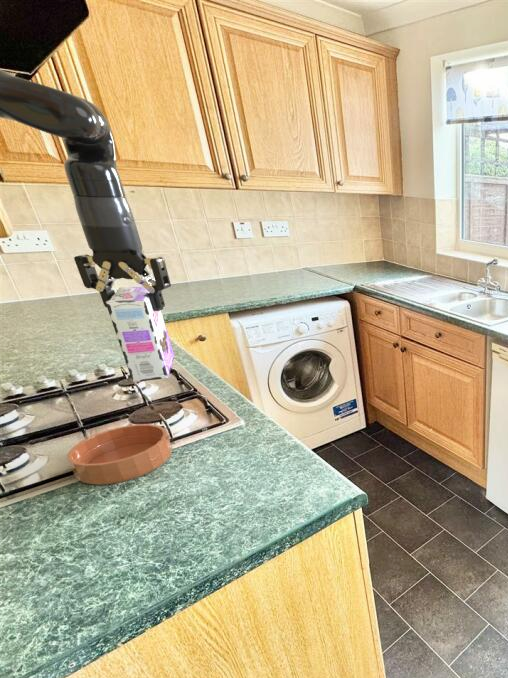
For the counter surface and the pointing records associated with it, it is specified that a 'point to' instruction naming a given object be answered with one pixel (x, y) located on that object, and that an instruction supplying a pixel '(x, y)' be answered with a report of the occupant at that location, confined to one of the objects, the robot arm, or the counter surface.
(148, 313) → the candy box
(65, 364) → the counter surface
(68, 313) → the counter surface
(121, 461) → the pan
